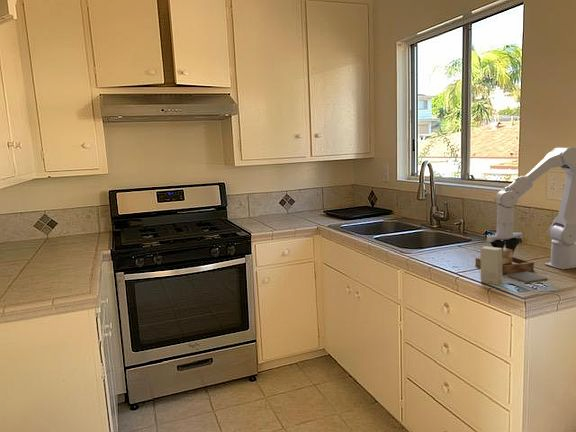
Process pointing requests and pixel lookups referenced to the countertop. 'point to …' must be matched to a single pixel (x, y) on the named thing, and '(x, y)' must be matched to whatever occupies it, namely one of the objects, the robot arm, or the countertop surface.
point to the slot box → (513, 265)
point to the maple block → (507, 256)
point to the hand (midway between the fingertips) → (504, 258)
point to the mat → (526, 277)
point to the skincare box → (491, 265)
